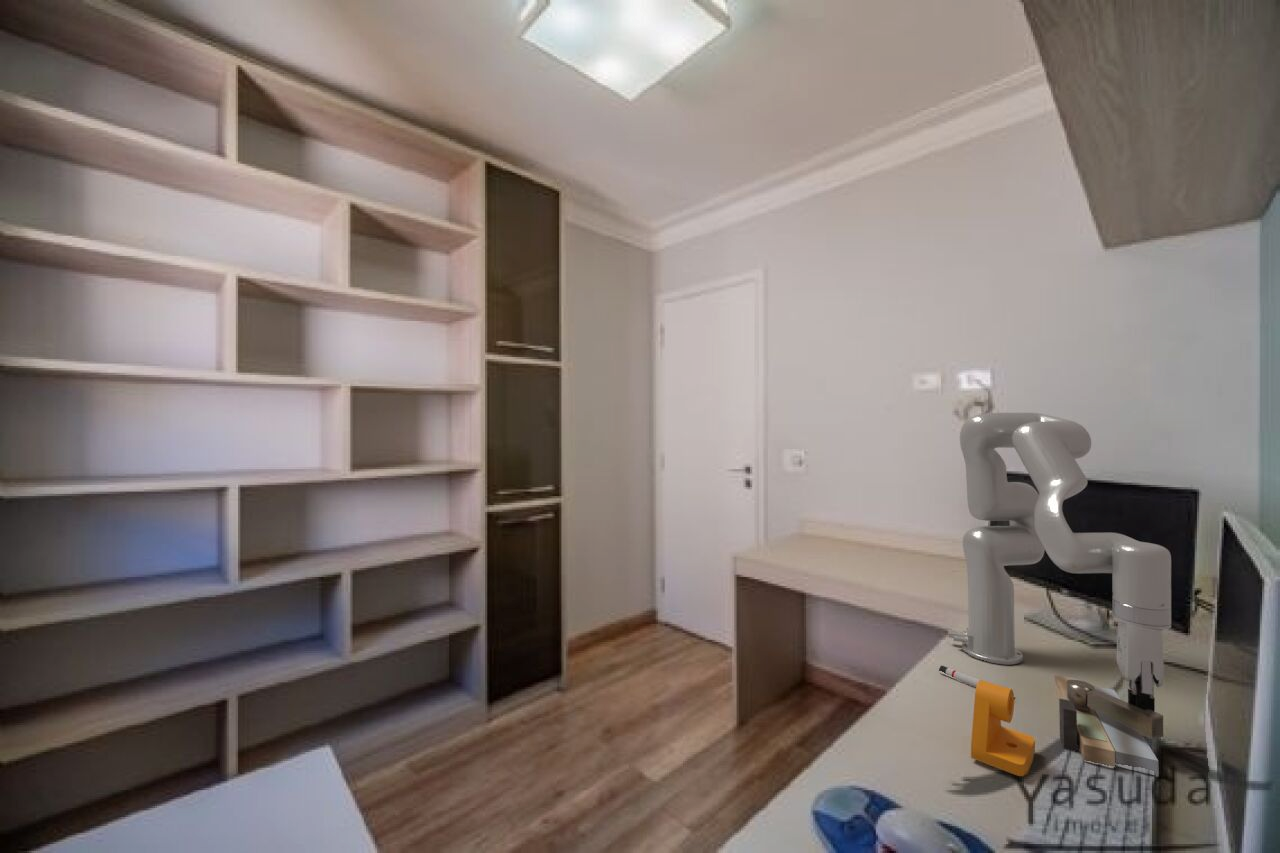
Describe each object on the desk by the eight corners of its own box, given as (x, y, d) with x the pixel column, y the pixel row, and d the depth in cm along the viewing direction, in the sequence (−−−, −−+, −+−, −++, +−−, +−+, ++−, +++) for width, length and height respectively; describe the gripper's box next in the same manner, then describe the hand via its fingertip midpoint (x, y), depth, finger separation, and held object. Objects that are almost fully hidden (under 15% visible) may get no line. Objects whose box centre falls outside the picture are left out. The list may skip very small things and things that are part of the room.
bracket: (1023, 783, 84) (1022, 708, 84) (971, 762, 89) (970, 691, 89) (1036, 753, 91) (1035, 684, 91) (987, 735, 96) (986, 670, 96)
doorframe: (1067, 757, 89) (1066, 717, 89) (1042, 686, 114) (1041, 654, 114) (1160, 780, 83) (1160, 736, 84) (1113, 700, 108) (1112, 666, 108)
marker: (939, 675, 120) (938, 666, 120) (943, 672, 121) (943, 664, 121) (1013, 705, 107) (1013, 695, 107) (1018, 702, 108) (1018, 693, 108)
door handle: (1061, 698, 101) (1061, 679, 101) (1077, 695, 102) (1077, 676, 102) (1149, 740, 87) (1148, 718, 87) (1165, 736, 88) (1165, 714, 88)
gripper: (1106, 597, 101) (1106, 691, 101) (1119, 622, 89) (1119, 729, 89) (1160, 604, 96) (1160, 703, 97) (1182, 632, 84) (1182, 744, 84)
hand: (1141, 715), depth 93 cm, fingers closed
